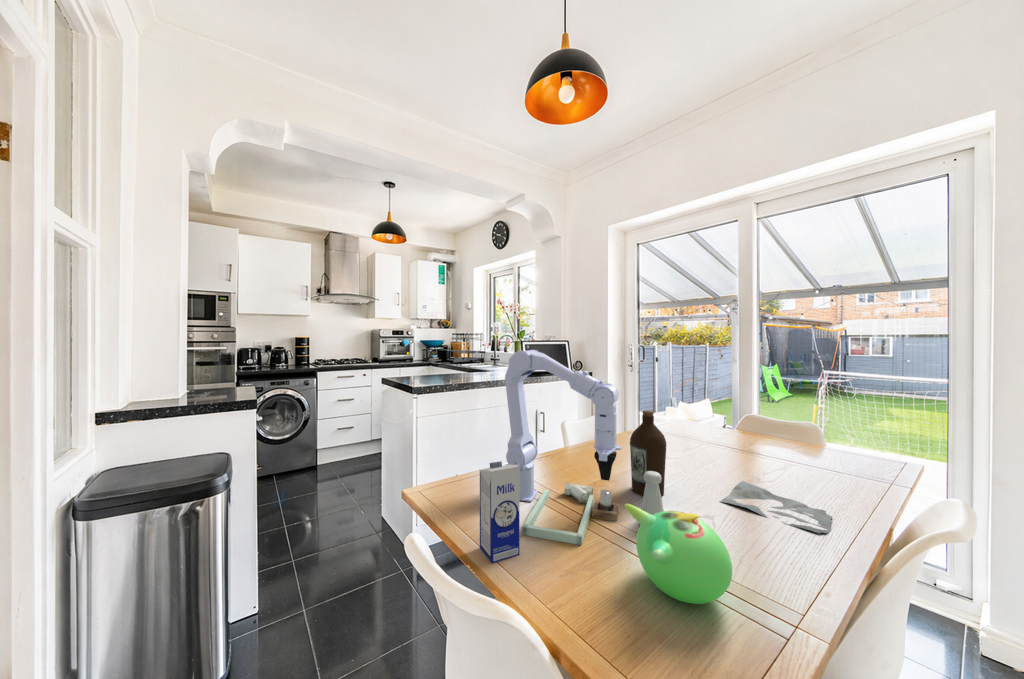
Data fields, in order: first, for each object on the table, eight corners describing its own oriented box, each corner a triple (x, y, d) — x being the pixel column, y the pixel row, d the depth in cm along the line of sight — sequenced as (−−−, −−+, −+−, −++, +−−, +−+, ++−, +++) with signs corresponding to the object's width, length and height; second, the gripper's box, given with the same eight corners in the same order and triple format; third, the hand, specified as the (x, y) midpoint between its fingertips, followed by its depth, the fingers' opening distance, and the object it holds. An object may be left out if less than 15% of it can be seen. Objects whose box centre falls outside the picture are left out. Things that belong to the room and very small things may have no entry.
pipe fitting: (589, 507, 109) (593, 496, 115) (589, 494, 108) (592, 483, 115) (562, 503, 112) (566, 492, 118) (562, 490, 111) (566, 480, 118)
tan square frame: (592, 517, 102) (592, 510, 102) (594, 506, 108) (594, 500, 108) (616, 521, 100) (616, 514, 100) (618, 510, 106) (618, 503, 106)
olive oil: (648, 482, 125) (649, 406, 125) (674, 495, 115) (674, 413, 115) (622, 488, 121) (622, 409, 120) (646, 501, 111) (646, 416, 111)
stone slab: (841, 522, 101) (842, 514, 101) (824, 544, 92) (825, 535, 91) (741, 487, 121) (742, 480, 120) (719, 502, 111) (719, 495, 111)
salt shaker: (664, 519, 101) (664, 470, 100) (665, 529, 95) (665, 478, 95) (640, 515, 102) (640, 467, 102) (640, 525, 97) (640, 475, 97)
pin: (599, 515, 103) (599, 493, 103) (600, 510, 105) (601, 489, 105) (610, 516, 102) (610, 494, 102) (611, 512, 104) (611, 490, 104)
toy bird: (753, 622, 65) (754, 536, 64) (657, 628, 63) (657, 541, 63) (694, 559, 83) (694, 492, 82) (618, 563, 81) (618, 495, 81)
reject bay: (522, 534, 93) (522, 526, 93) (545, 495, 115) (545, 489, 115) (581, 545, 88) (581, 536, 88) (593, 502, 110) (593, 495, 110)
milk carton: (491, 563, 81) (490, 470, 81) (478, 547, 87) (478, 461, 87) (520, 554, 84) (520, 465, 84) (506, 540, 90) (506, 456, 90)
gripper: (619, 437, 95) (619, 491, 95) (622, 424, 109) (622, 471, 109) (590, 435, 97) (590, 488, 98) (597, 422, 111) (597, 469, 111)
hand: (605, 479), depth 103 cm, fingers closed
